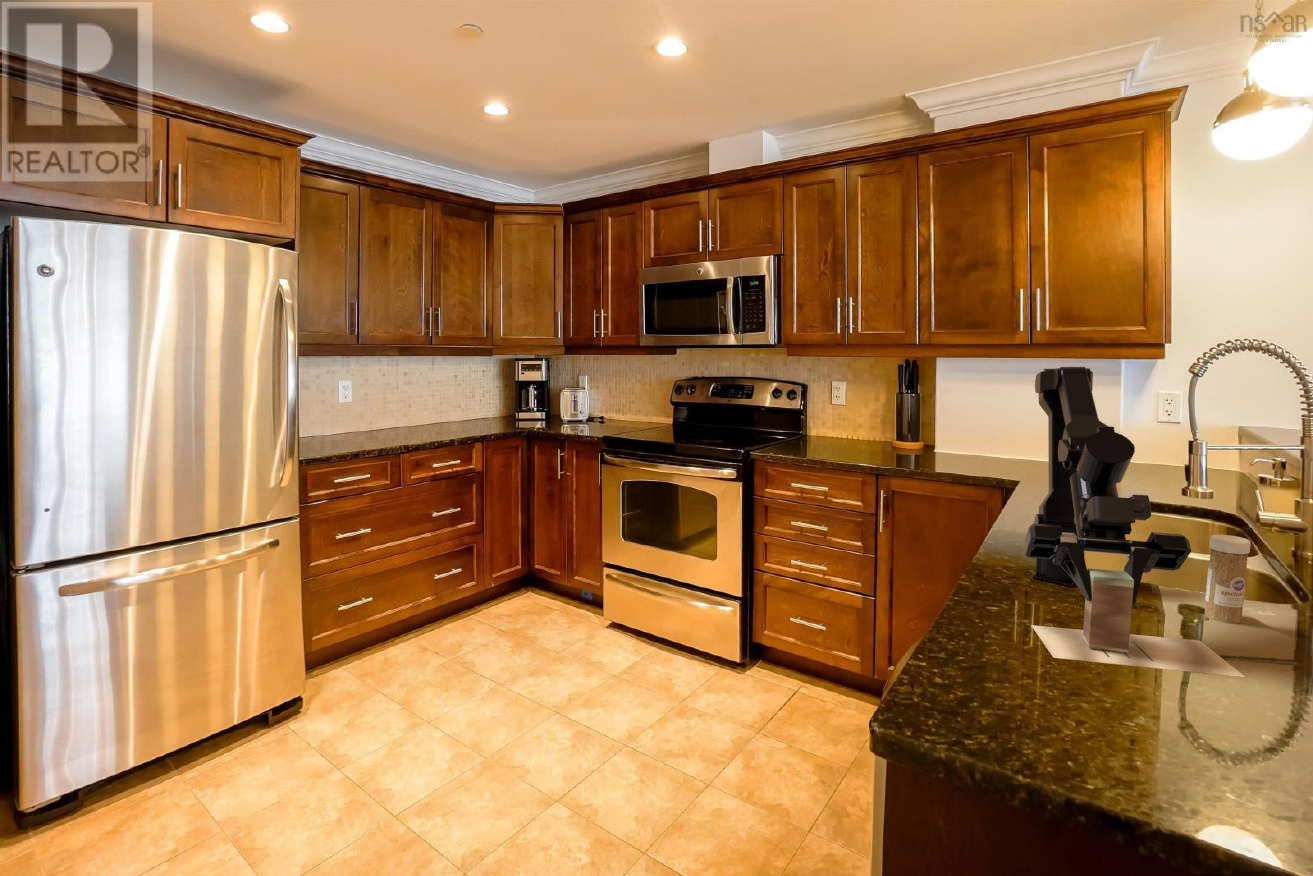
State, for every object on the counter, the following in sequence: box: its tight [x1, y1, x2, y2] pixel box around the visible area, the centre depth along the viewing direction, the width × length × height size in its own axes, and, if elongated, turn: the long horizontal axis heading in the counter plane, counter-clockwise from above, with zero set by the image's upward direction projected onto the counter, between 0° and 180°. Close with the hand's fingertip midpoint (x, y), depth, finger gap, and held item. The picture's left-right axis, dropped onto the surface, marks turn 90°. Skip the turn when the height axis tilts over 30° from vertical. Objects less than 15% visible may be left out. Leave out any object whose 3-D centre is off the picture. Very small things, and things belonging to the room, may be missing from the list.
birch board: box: [1031, 624, 1247, 678], centre depth 89 cm, size 21×11×1 cm, turn 74°
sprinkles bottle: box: [1204, 534, 1251, 625], centre depth 99 cm, size 5×5×14 cm
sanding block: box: [1082, 568, 1134, 653], centre depth 89 cm, size 4×4×10 cm
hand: (1111, 602), depth 88 cm, fingers closed on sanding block, 4 cm apart
